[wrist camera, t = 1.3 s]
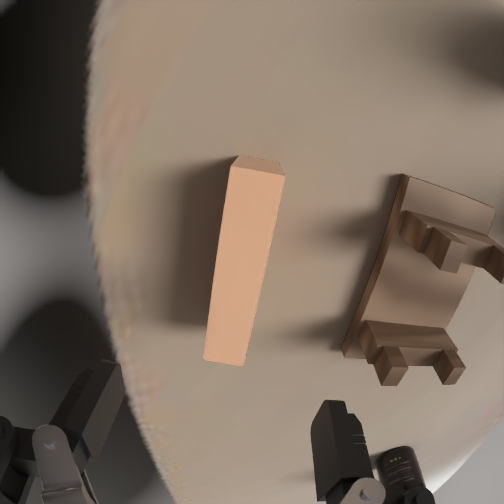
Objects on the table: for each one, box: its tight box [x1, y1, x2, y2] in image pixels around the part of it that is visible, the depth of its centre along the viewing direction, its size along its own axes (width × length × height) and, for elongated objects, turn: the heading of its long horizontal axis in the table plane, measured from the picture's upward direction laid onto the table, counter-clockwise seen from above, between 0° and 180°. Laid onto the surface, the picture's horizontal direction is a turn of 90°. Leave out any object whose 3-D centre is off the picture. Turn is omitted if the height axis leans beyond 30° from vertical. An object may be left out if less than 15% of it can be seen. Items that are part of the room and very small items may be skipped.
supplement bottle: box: [376, 446, 426, 492], centre depth 33 cm, size 7×7×12 cm
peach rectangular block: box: [203, 155, 285, 366], centre depth 22 cm, size 14×3×6 cm, turn 170°
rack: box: [341, 174, 504, 386], centre depth 22 cm, size 17×10×8 cm, turn 170°
